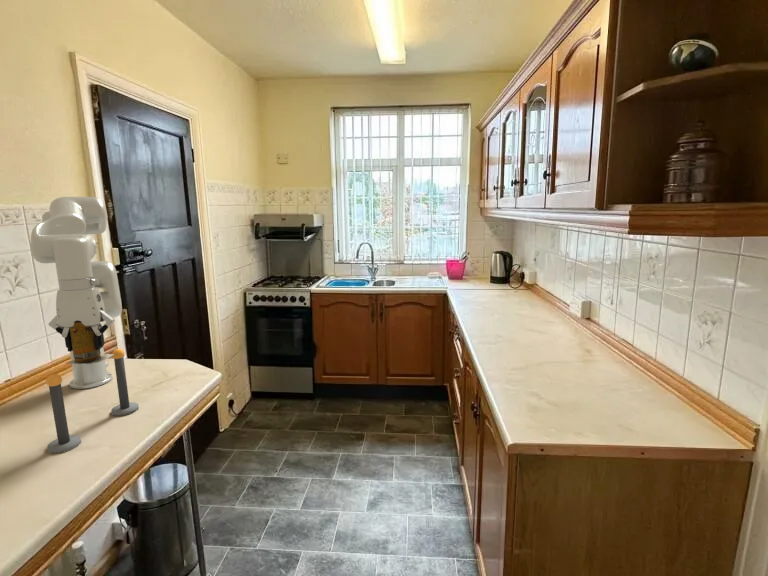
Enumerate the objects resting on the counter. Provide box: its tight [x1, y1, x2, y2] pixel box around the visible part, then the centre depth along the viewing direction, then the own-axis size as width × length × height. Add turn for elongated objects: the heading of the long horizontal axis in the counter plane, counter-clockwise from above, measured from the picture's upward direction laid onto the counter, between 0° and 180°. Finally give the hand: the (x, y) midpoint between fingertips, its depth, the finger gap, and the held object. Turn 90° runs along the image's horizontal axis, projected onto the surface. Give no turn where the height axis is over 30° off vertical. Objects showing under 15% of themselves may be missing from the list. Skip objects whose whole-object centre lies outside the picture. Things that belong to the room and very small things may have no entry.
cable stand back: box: [111, 348, 139, 417], centre depth 128 cm, size 7×7×20 cm
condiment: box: [66, 320, 114, 365], centre depth 116 cm, size 7×8×12 cm
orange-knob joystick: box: [45, 373, 82, 454], centre depth 109 cm, size 7×7×20 cm
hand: (86, 348), depth 116 cm, fingers closed on condiment, 6 cm apart
